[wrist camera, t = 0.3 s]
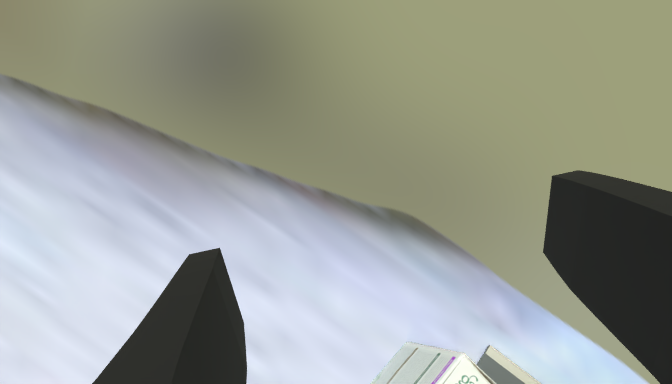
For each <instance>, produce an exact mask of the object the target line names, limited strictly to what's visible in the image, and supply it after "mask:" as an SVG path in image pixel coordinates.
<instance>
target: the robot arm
mask: <svg viewBox="0 0 672 384" xmlns="http://www.w3.org/2000/svg"><path fill="white" fill-rule="evenodd" d="M545 233H546V234H545V241H544V249H543V253H544V254H545V256H546V257H547V258H548V260H549V261H550V263H551V264H552V266H553V267H554V268H555V270H556V271H557V273H558V274H559V275H560V277H561V278H562V279H563V281H564V282H565V283H566V284H567V286H568V287H569V288H570V290H571V291H572V292H573V293H574V294H575V295H576V296H577V297H578V298H579V299H580V300H581V301H582V302H583V304H584V305H585V306H586V307H587V308H588V309H589V310H590V311H591V312H592V313H593V314H594V315H595V316H596V317H597V318H598V319H599V320H600V321H601V322H602V323H603V324H604V325H605V326H606V327H607V328H608V330H609V331H610V332H612V334H613V335H614V336H615V337H616V338H617V339H618V340H619V341H620V342H621V343H622V344H623V345H624V346H625V347H626V348H627V349H628V350H629V351H630V352H631V353H632V354H633V355H634V356H635V357H636V358H637V359H638V360H639V361H640V362H641V363H642V364H643V365H644V366H645V367H646V369H647V370H649V372H650V373H651V374H652V375H653V376H654V377H655V378H656V379H657V380H658V381H659V382H660V384H672V192H670V191H666V190H662V189H658V188H654V187H651V186H646V185H643V184H639V183H635V182H631V181H627V180H623V179H619V178H614V177H610V176H606V175H601V174H596V173H592V172H585V171H573V172H568V173H564V174H559V175H555V176H552V182H551V190H550V199H549V207H548V216H547V224H546V232H545ZM246 378H247V361H246V345H245V332H244V322H243V319H242V315H241V312H240V309H239V306H238V303H237V300H236V297H235V294H234V291H233V287H232V284H231V281H230V278H229V275H228V272H227V269H226V266H225V263H224V259H223V256H222V253H221V250H220V248H217V249H212V250H208V251H203V252H198V253H194V254H189V256H188V257H187V258H186V260H185V261H184V262H183V264H182V265H181V267H180V268H179V269H178V271H177V272H176V274H175V275H174V277H173V278H172V279H171V281H170V282H169V284H168V285H167V287H166V288H165V290H164V291H163V292H162V294H161V295H160V297H159V298H158V300H157V301H156V302H155V304H154V305H153V307H152V308H151V309H150V311H149V312H148V313H147V315H146V316H145V318H144V319H143V320H142V322H141V323H140V324H139V326H138V327H137V329H136V330H135V331H134V333H133V334H132V335H131V336H130V338H129V339H128V340H127V341H126V343H125V344H124V345H123V346H122V348H121V349H120V350H119V351H118V353H117V354H116V355H115V356H114V358H113V359H112V360H111V361H110V363H109V364H108V365H107V366H106V368H105V369H104V370H103V371H102V373H101V374H100V375H99V376H98V378H97V379H96V380H95V381H94V382H93V383H92V384H246Z"/></svg>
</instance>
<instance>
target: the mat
mask: <svg viewBox="0 0 672 384" xmlns="http://www.w3.org/2000/svg"><path fill="white" fill-rule="evenodd" d="M477 366H478V367H479V368H480V369H481V370H482V371H483V372H484V373H485V374H486V375H488V376H489V377H490V378H491V379H492V380H493V381H494V382H495V383H496V384H541V383H540V382H538V381H537V380H536V379H534V378H533V377H532V376H530V375H529V374H528V373H526V372H525V371H524V370H522V369H521V368H520V367H518V366H517V365H516V364H514V363H513V362H512V361H510V360H509V359H508V358H506V357H505V356H504V355H502V354H501V353H500V352H498V351H497V350H496V349H495V348H493V347H492V346H491V345H489V346H488V347H487V349H486V351H485V352H484V354H483V355H482V357H481V359H480V360H479V362H478V364H477Z"/></svg>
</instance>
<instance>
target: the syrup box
mask: <svg viewBox="0 0 672 384" xmlns="http://www.w3.org/2000/svg"><path fill="white" fill-rule="evenodd" d="M370 384H496V383H495V382H494V381H493V380H492V379H491V378H490V377H489V376H488V375H486V374H485V373H484V372H483V371H482V370H481V369H480V368H479V367H478V366H477V365H476V364H475V363H474V362H473V361H472V360H471V359H470V358H469V357H468V356H467V355H466V354H465V353H461V352H456V351H451V350H446V349H441V348H437V347H432V346H426V345H421V344H417V343H412V342H406V343H405V344H404V345H403V346H402V348H401V349H400V350H399V351H398V352H397V353H396V355H395V356H394V357H393V358H392V359H391V360H390V362H389V363H388V364H387V365H386V366H385V367H384V368H383V370H382V371H381V372H380V373H379V374H378V375H377V376H376V378H375V379H374V380H373V381H372V382H371V383H370Z"/></svg>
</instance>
